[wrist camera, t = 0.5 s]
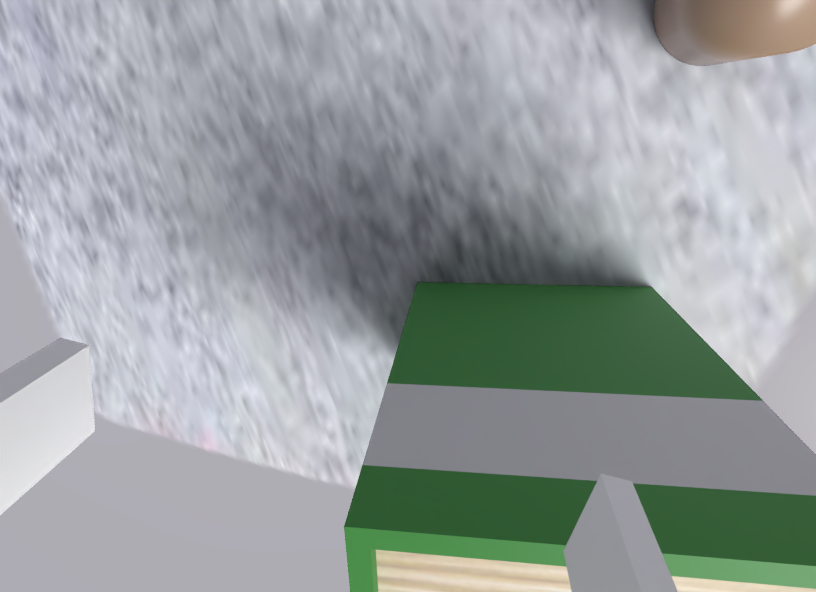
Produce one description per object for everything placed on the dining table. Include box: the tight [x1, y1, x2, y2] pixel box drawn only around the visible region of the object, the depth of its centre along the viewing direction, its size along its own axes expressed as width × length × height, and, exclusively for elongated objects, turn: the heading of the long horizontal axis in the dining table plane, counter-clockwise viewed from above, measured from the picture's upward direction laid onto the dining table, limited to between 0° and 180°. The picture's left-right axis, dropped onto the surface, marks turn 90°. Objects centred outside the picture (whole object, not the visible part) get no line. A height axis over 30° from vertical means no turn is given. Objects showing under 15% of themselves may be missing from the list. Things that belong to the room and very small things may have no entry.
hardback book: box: [344, 282, 816, 592], centre depth 28 cm, size 18×7×24 cm, turn 91°
